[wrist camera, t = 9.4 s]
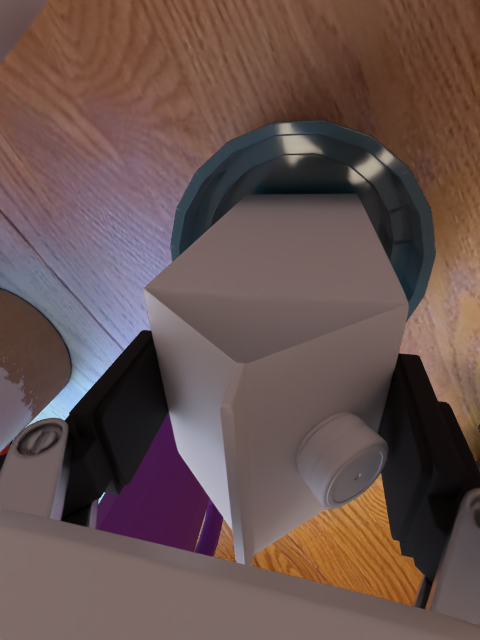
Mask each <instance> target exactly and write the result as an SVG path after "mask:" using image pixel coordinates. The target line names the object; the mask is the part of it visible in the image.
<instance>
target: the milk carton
mask: <svg viewBox="0 0 480 640" xmlns="http://www.w3.org/2000/svg"><path fill="white" fill-rule="evenodd" d="M143 293H144V298H145V303H146V308H147V313H148V317H149V322H150V326H151V331H152V336H153V340H154V345H155V350H156V354H157V359H158V363H159V368H160V373H161V377H162V382H163V386H164V391H165V396H166V400H167V405H168V410H169V414H170V419H171V423H172V428H173V433H174V437H175V442H176V446H177V450H178V452H179V454H180V455H181V457H182V458H183V460H184V461H185V463H186V464H187V465H188V467H189V468H190V470H191V471H192V473H193V474H194V476H195V477H196V479H197V480H198V481H199V483H200V484H201V486H202V487H203V489H204V490H205V492H206V493H207V494H208V496H209V497H210V499H211V500H212V502H213V503H214V505H215V506H216V508H217V509H218V510H219V512H220V513H221V515H222V516H223V518H224V519H225V521H226V522H227V523H228V525H229V526H230V528H231V529H232V531H233V539H234V549H235V558H236V563H240V564H245V565H249V566H252V563H253V556H254V555H255V554H256V553H258V552H259V551H261V550H263V549H264V548H266V547H267V546H269V545H270V544H272V543H273V542H275V541H277V540H278V539H280V538H281V537H283V536H284V535H286V534H287V533H289V532H291V531H292V530H294V529H295V528H297V527H298V526H300V525H302V524H303V523H305V522H306V521H308V520H309V519H311V518H312V517H314V516H316V515H317V514H319V513H320V512H322V511H323V510H325V509H326V508H328V509H334V508H338V507H341V506H343V505H345V504H347V503H349V502H351V501H352V500H354V499H355V498H357V497H358V496H360V495H361V494H362V493H363V492H365V491H366V490H367V489H368V488H369V487H370V486H371V485H372V484H373V483H374V481H375V480H376V479H377V478H378V476H379V475H380V473H381V471H382V470H383V467H384V465H385V463H386V461H387V457H388V445H387V442H386V441H385V440H384V439H383V438H382V437H381V436H380V435H378V432H379V428H380V424H381V420H382V416H383V413H384V409H385V405H386V401H387V397H388V393H389V389H390V385H391V381H392V377H393V373H394V369H395V366H396V362H397V358H398V354H399V350H400V346H401V341H402V337H403V333H404V329H405V324H406V320H407V315H408V309H409V305H408V301H407V298H406V296H405V293H404V291H403V288H402V286H401V284H400V282H399V280H398V278H397V276H396V273H395V271H394V269H393V267H392V265H391V263H390V261H389V259H388V257H387V255H386V253H385V251H384V248H383V246H382V244H381V242H380V240H379V238H378V236H377V234H376V232H375V230H374V228H373V226H372V223H371V221H370V219H369V217H368V215H367V213H366V211H365V209H364V207H363V205H362V203H361V201H360V198H359V196H358V195H357V194H248V195H246V196H245V197H244V198H243V199H242V200H240V201H239V202H238V203H237V204H236V205H235V206H234V207H233V208H232V209H231V210H229V211H228V212H227V213H226V214H225V215H224V216H223V217H222V218H221V219H219V220H218V221H217V222H216V223H215V224H214V225H213V226H212V227H211V228H210V229H208V230H207V231H206V232H205V233H204V234H203V235H202V236H201V237H200V238H199V239H197V240H196V241H195V242H194V243H193V244H192V245H191V246H190V247H189V248H188V249H186V250H185V251H184V252H183V253H182V254H181V255H180V256H179V257H178V258H176V259H175V260H174V261H173V262H172V263H171V264H170V265H169V266H168V267H167V268H165V269H164V270H163V271H162V272H161V273H160V274H159V275H158V276H157V277H156V278H154V279H153V280H152V281H151V282H150V283H149V284H148V285H147V286H146V287H143Z"/></svg>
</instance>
